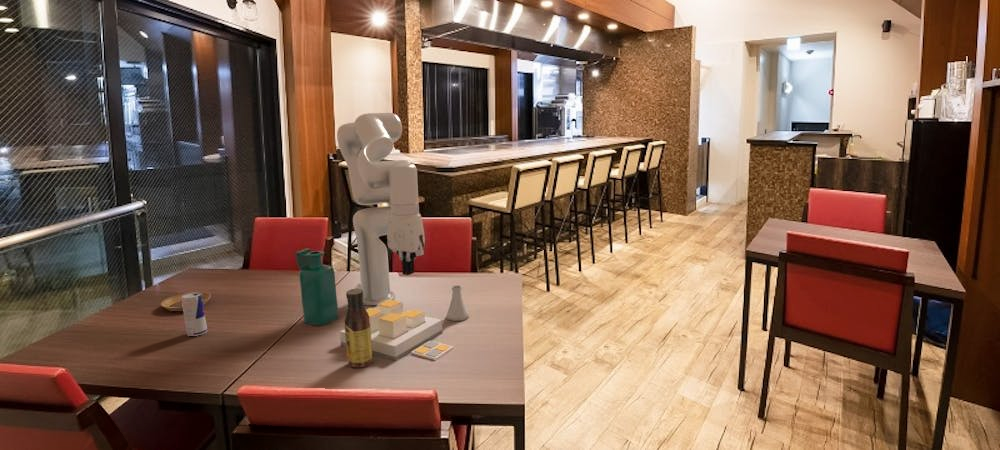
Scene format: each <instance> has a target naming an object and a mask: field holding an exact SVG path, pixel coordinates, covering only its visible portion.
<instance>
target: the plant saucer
mask: <svg viewBox="0 0 1000 450" xmlns="http://www.w3.org/2000/svg"><path fill="white" fill-rule="evenodd" d="M197 292H198V293H201V295H202V298H203V305H204V306H206V304H207V303H208V302H209V300H210V298H211V297H212V295H211V293H210V292H203V291H197ZM188 293H189V292H186V293H181V294H177V295H174V296H170V297H167V298H166V299H164V300H162V302H161V303H160V306H161V307H163V308H164V309H165V310H167V311H169V312H172V311H183V307H169V306H170V305H172V304H174V303H177V302H180V301H182V300H181V299H182V296H183V295H185V294H188ZM191 293H194V292H193V291H192V292H191Z"/></svg>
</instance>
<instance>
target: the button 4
mask: <svg viewBox="0 0 1000 450" xmlns="http://www.w3.org/2000/svg"><path fill="white" fill-rule="evenodd" d="M400 315H403V316H405V317H406V327H407V328H411V329H414V328H416V327H418V326H420V325H422V324H423V323H425V316H426V315H425V312H423V311H421V310H416V309H412V308H410V309H408V310H406V311H404V313H402V314H400Z"/></svg>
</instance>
